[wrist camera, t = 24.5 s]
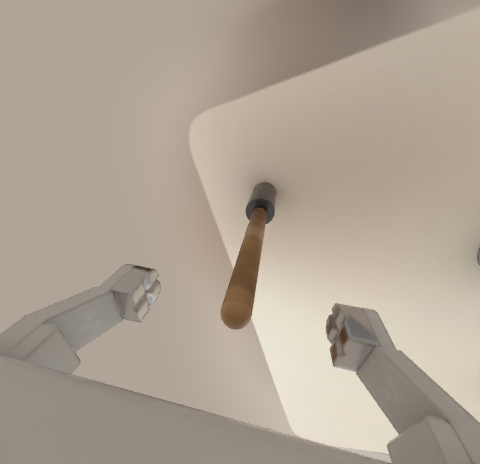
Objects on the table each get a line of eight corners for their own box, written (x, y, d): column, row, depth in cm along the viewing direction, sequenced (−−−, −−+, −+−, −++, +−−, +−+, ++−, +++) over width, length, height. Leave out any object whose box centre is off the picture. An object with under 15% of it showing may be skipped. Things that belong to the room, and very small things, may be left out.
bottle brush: (251, 202, 25) (201, 339, 9) (254, 181, 24) (199, 295, 8) (273, 205, 25) (262, 352, 9) (277, 183, 23) (271, 310, 7)
